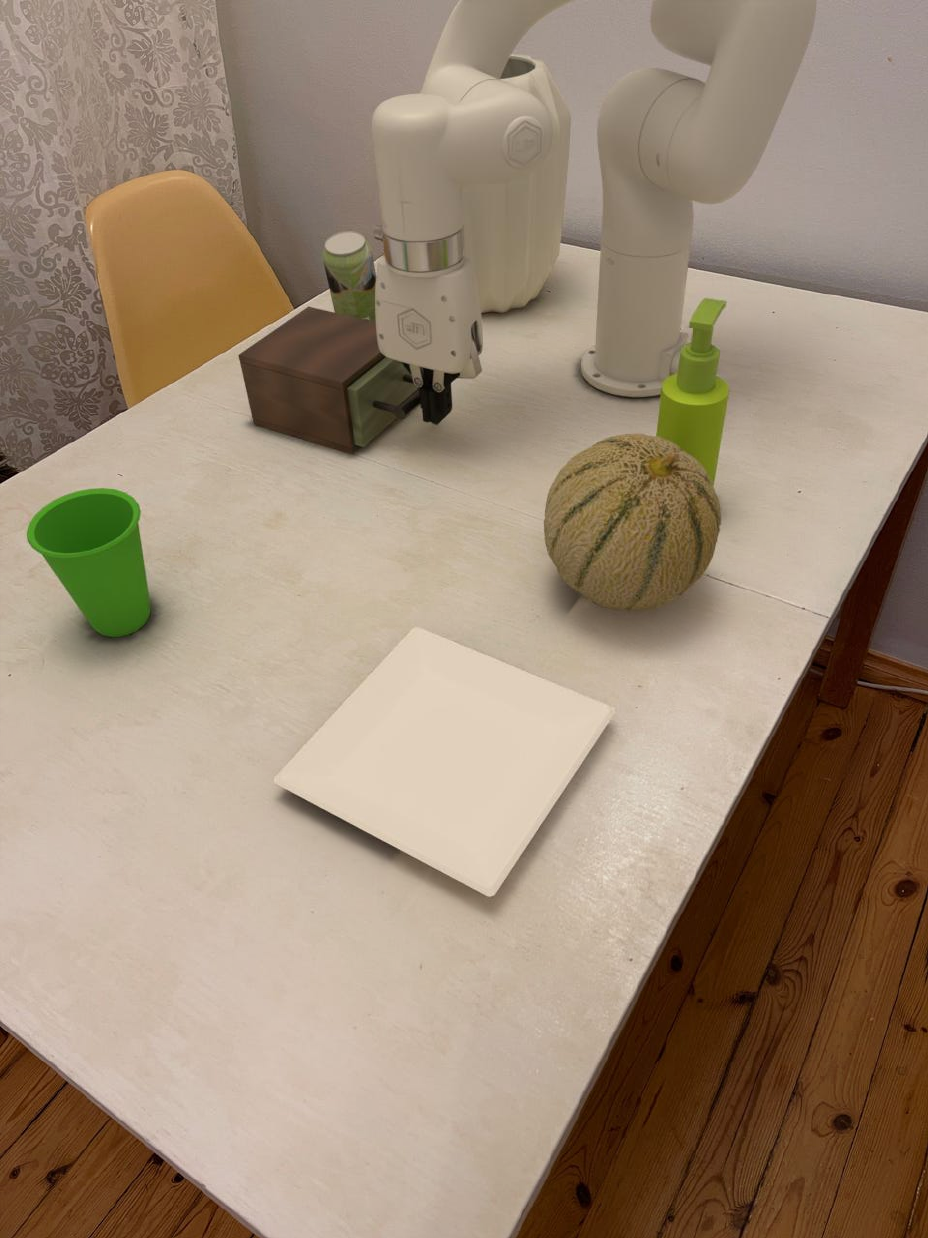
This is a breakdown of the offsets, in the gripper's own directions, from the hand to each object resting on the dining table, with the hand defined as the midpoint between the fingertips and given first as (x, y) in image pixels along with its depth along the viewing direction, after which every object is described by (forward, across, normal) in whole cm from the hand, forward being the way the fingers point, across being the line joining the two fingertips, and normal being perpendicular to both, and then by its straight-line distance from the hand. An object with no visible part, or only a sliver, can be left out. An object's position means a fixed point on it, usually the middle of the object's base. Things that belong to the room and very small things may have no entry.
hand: (437, 416), depth 102 cm
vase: (+4, -12, +34) cm, 36 cm away
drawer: (+2, -10, 0) cm, 10 cm away
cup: (+3, -11, -37) cm, 39 cm away
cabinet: (+3, -14, 0) cm, 14 cm away
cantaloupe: (+3, +27, -13) cm, 30 cm away
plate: (+3, +23, -37) cm, 44 cm away
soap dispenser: (+3, +27, +1) cm, 27 cm away
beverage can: (+3, -23, +18) cm, 29 cm away
